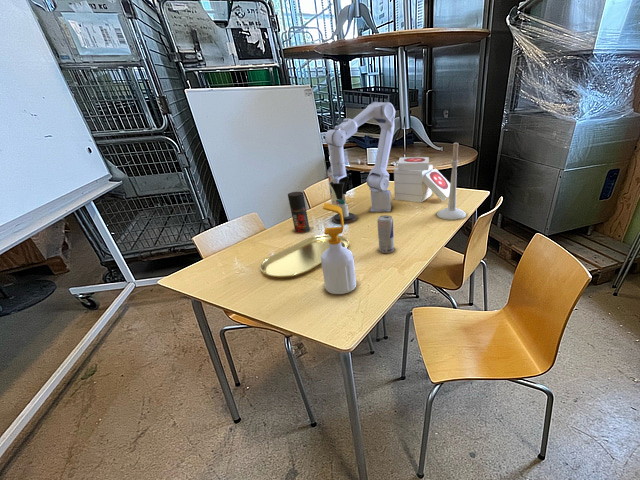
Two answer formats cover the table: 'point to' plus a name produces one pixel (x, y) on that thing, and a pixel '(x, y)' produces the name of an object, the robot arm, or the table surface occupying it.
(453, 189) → the candlestick
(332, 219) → the turntable base
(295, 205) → the deodorant
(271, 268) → the serving platter
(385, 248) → the energy drink
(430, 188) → the pizza boxes
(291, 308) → the table surface
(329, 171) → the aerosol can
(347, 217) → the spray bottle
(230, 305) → the table surface
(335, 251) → the soap bottle
